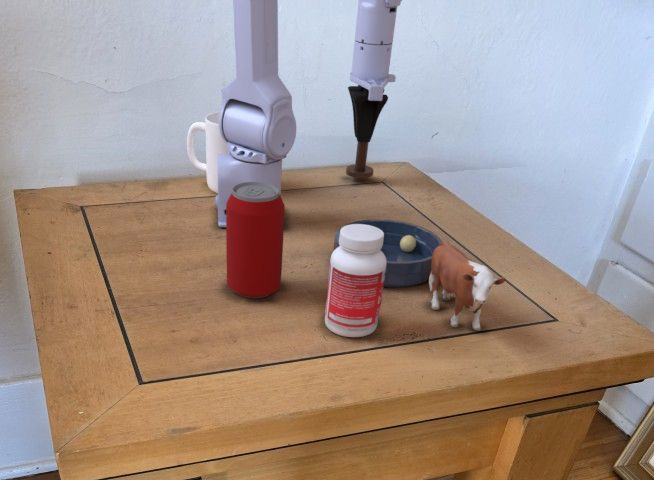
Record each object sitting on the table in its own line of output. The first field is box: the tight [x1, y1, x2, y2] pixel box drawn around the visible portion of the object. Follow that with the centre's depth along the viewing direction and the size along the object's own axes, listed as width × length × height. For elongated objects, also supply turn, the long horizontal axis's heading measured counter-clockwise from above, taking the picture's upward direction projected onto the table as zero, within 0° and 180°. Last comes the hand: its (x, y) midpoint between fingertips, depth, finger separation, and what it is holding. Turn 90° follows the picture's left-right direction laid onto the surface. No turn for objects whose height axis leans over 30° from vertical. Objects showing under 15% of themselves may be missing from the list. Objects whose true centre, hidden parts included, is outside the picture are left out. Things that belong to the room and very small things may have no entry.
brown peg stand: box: [345, 141, 374, 179], centre depth 114 cm, size 5×5×10 cm
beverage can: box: [225, 182, 285, 299], centre depth 83 cm, size 7×7×12 cm
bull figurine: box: [428, 241, 507, 332], centre depth 81 cm, size 4×13×8 cm, turn 13°
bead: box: [400, 235, 416, 252], centre depth 95 cm, size 2×2×2 cm
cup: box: [186, 110, 230, 194], centre depth 110 cm, size 8×12×10 cm
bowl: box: [332, 218, 443, 288], centre depth 92 cm, size 14×14×4 cm
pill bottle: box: [324, 224, 387, 338], centre depth 77 cm, size 6×6×11 cm
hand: (362, 139), depth 114 cm, fingers closed on brown peg stand
